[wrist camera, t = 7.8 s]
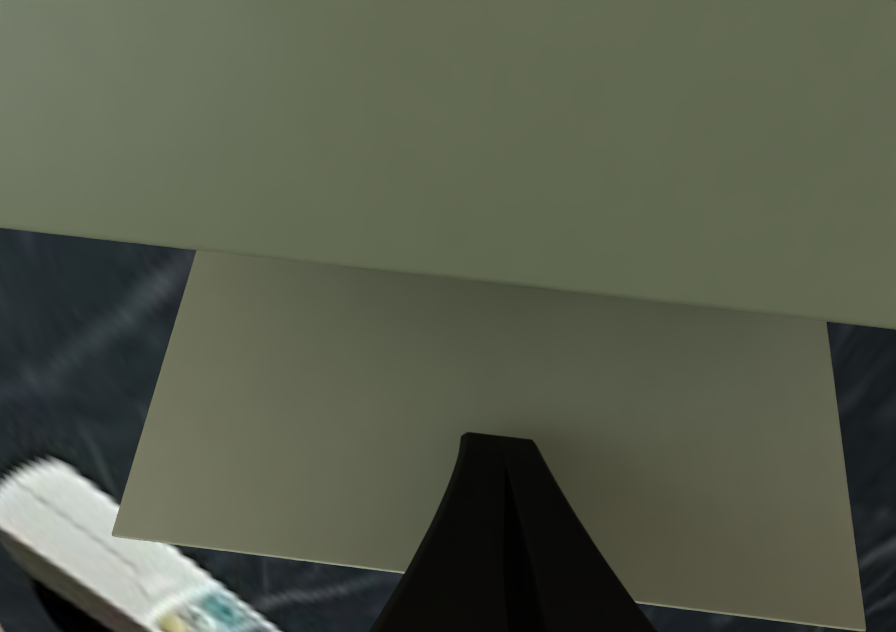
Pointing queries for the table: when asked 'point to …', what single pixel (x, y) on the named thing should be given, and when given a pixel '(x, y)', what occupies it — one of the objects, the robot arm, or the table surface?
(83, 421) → the table surface
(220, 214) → the oven
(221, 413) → the oven door
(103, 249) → the table surface
